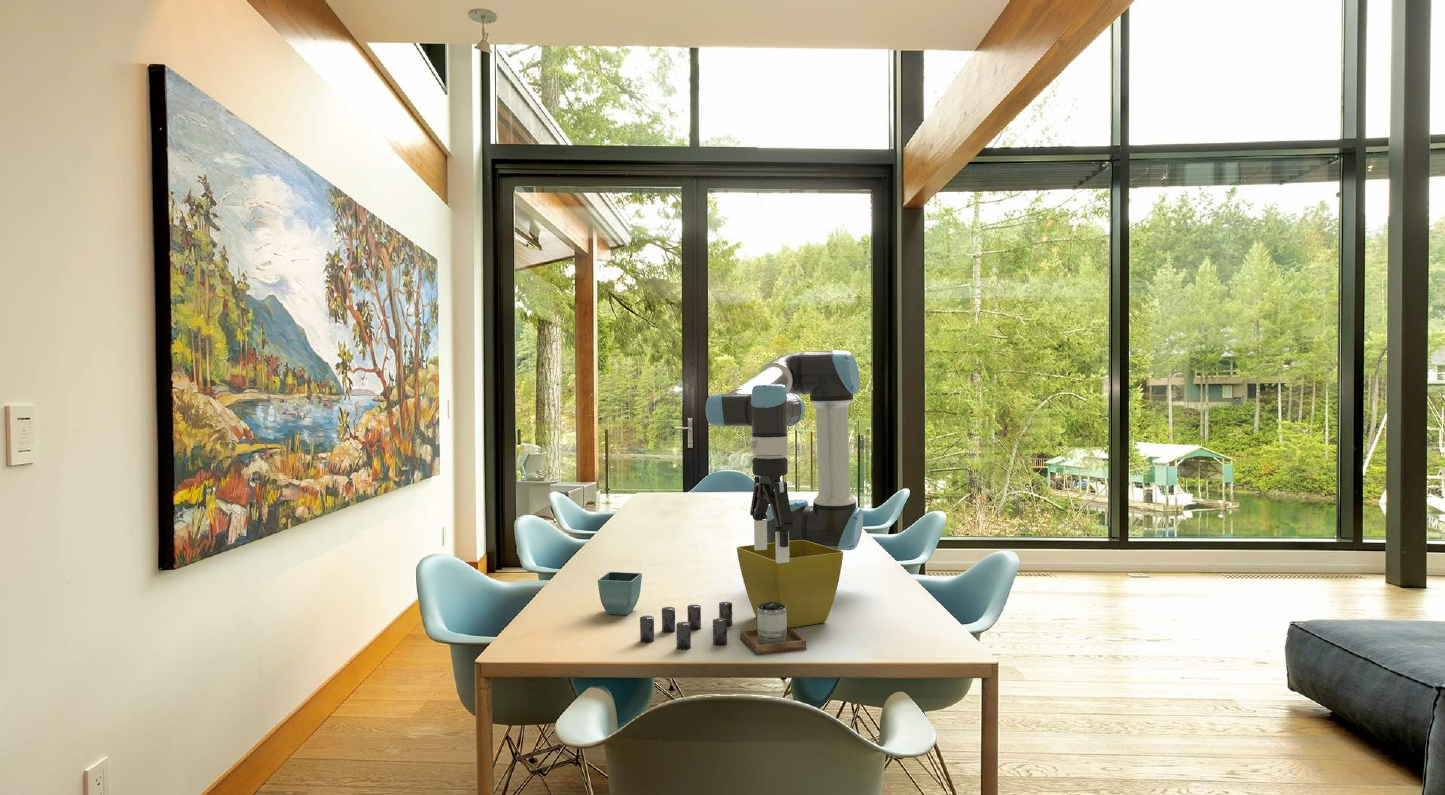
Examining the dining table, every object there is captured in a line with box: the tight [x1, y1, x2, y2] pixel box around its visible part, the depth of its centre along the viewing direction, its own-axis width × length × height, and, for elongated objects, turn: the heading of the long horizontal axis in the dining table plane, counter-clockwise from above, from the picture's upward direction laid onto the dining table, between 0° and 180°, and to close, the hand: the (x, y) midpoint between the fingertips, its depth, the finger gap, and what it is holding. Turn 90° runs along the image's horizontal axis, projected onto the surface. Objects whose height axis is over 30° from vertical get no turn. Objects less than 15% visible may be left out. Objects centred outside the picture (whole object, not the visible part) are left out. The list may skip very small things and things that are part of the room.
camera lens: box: [756, 602, 787, 644], centre depth 168 cm, size 6×6×8 cm
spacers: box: [639, 601, 733, 651], centre depth 174 cm, size 22×16×5 cm
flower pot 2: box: [736, 540, 844, 629], centre depth 186 cm, size 19×19×17 cm
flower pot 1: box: [597, 571, 643, 616], centre depth 194 cm, size 9×9×9 cm
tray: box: [739, 626, 807, 656], centre depth 168 cm, size 11×11×2 cm
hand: (771, 556), depth 168 cm, fingers open, 13 cm apart
